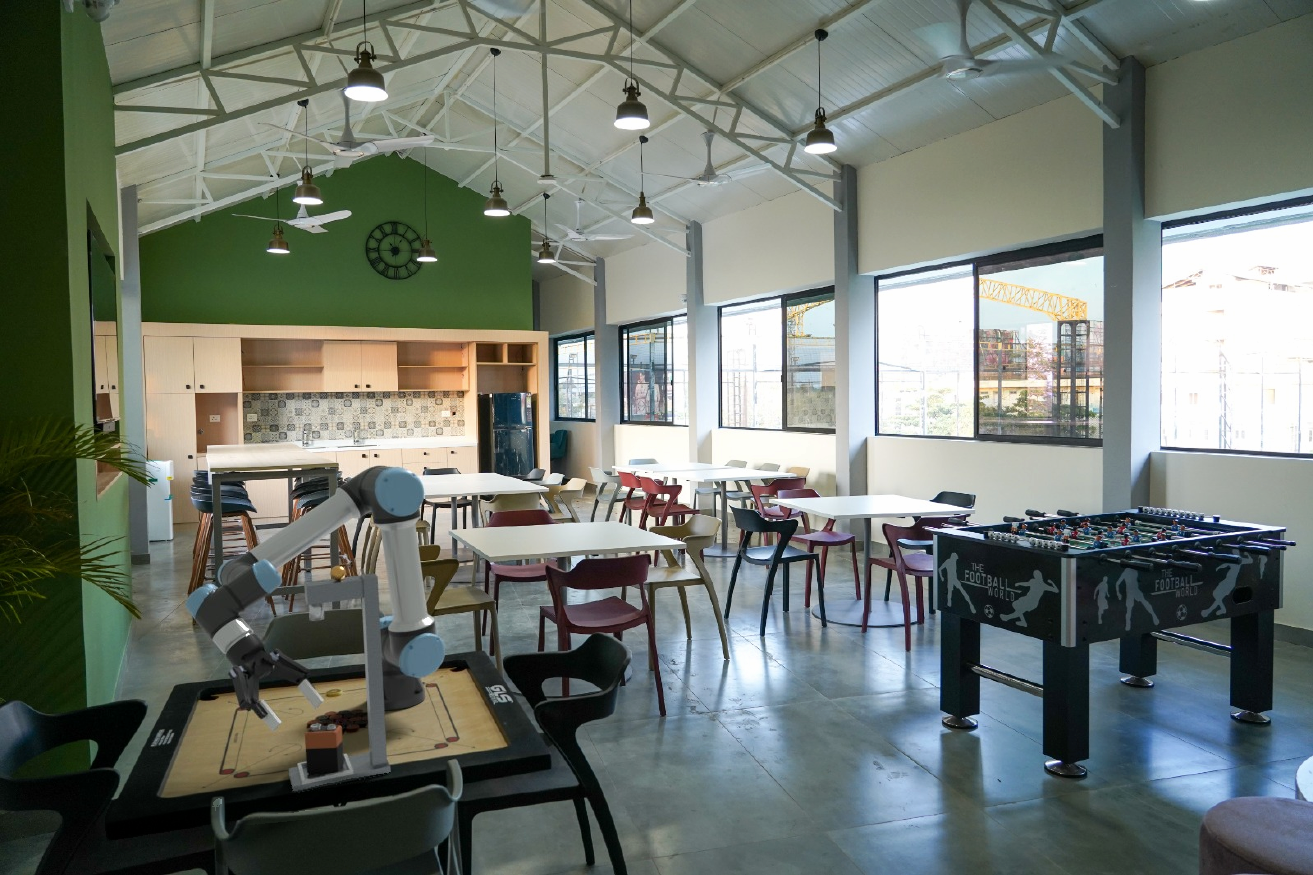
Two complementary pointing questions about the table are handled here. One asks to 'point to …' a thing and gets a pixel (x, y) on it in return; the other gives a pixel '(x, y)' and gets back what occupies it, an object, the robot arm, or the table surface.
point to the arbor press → (368, 591)
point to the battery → (324, 749)
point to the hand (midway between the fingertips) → (299, 715)
